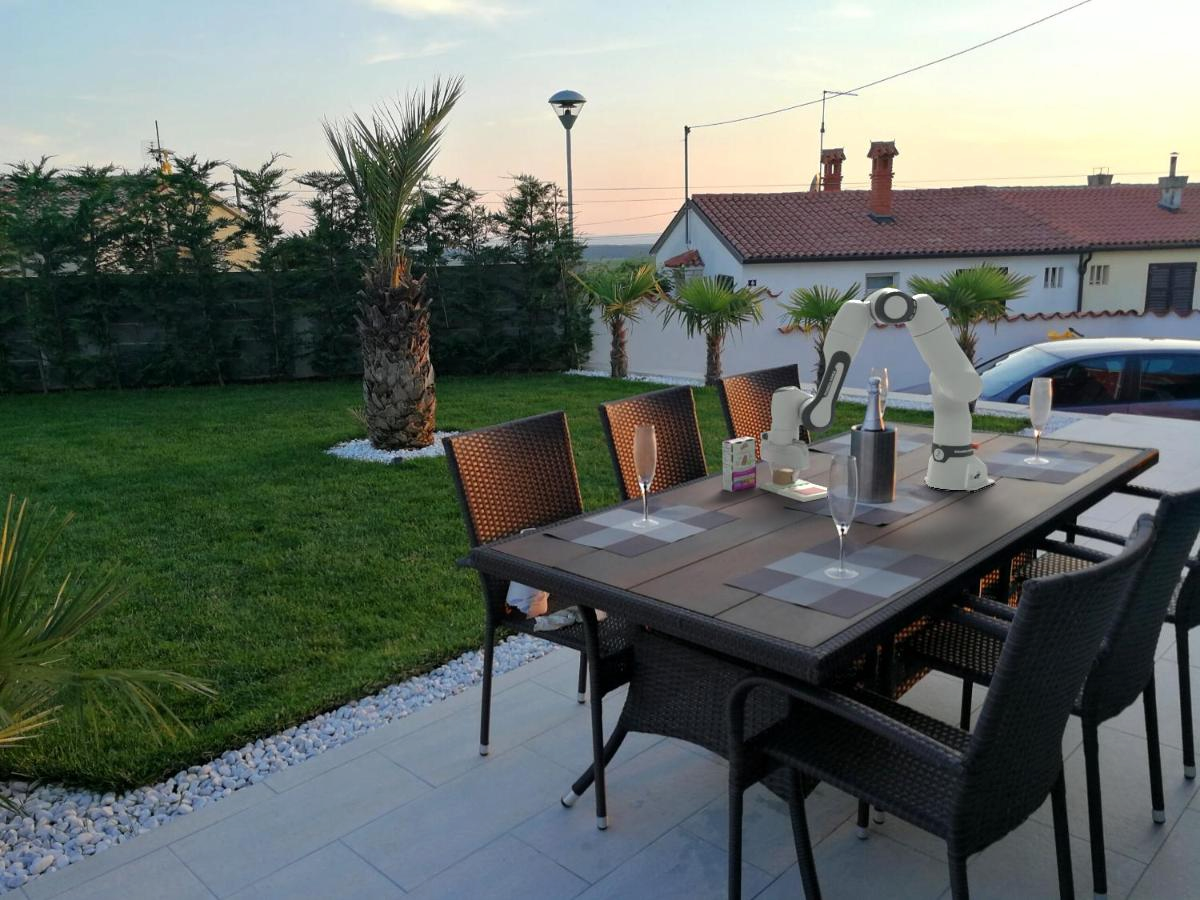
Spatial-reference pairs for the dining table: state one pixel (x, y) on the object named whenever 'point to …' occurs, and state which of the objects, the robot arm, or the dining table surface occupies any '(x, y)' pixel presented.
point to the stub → (781, 481)
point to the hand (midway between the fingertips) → (784, 478)
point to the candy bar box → (739, 463)
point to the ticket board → (804, 492)
